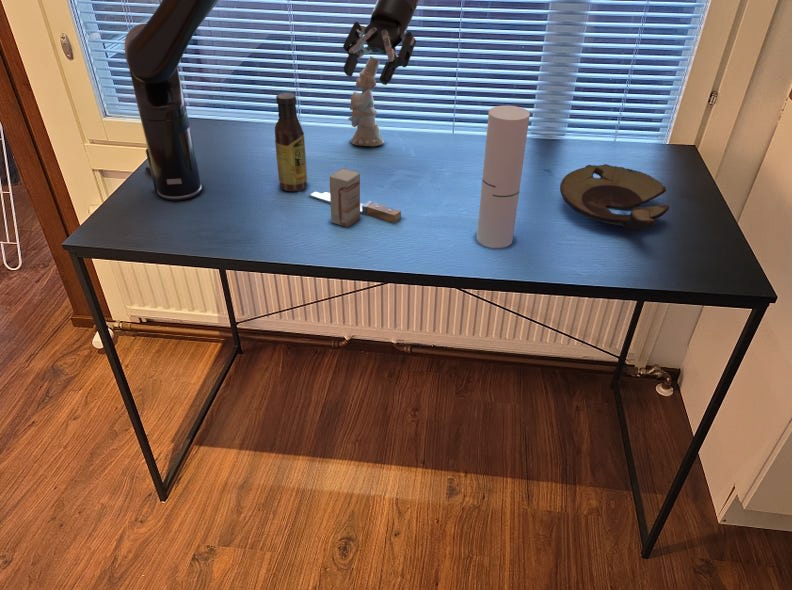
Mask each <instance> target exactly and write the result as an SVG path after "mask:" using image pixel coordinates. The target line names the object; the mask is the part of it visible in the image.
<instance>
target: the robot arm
mask: <svg viewBox="0 0 792 590" xmlns="http://www.w3.org/2000/svg"><path fill="white" fill-rule="evenodd" d="M218 2H219V0H161V2H160V4H159V5H158V7H157V8H156V10H155V11H154V13H153V14H152V15H151V16H150V18H149V19H148V21H147V22H146V23H140V24H137V25H134V26H133V27H132V28H130V30H128V32H127V33H126V36H125V38H124V44H123V46H124V56H125V57H124V58H125V60H126V64H127V67H128V70H129V75H130V79H131V83H132V87H133V92H134V96H135V101H136V107H137V109H138V114H139V118H140V121H141V123H140V124H141V126H142V130H143V134H144V138H145V139H144V140H145V143H146V147H147V148H145V154H146V158H147V162H148V163H147V164H148V166H146V168H145V171H146V172H147V173H148V174H150V175H151V179H152V184H153V187H154V191H155V192H156V193H157V195H158V196H159V198H161V199H163V200H166V201H172V202H173V201H176V202H177V201H186V200H189V199H192V198H194V197H197V196H198V195H200V194H201V192H202V190H203V186H202V183H201V179H200V173H199V167H198V162H197V159H196V152H195V146H194V142H193V141H194V140H193V136H192V131H191V126H190V121H189V116H188V110H187V106H186V99H185V95H184V90H183V85H182V81H181V76H180V71H179V64H180V63H181V60H182V58H183V56H184V54H185V52H186V51H187V48H188V46H189V45H190V43H191V41H192V38H193V37H194V35H195V34H196V32H197V30H198V29H199V27H200V26H201V24H203V22H204V20H205V19H207V17H208V15H209V14H210V13H211V12H212V10H213V9H214V8H215V6H216V4H218ZM419 2H420V0H376V3H375V5H374V6H373V10H372V12H371V15H370V22H368V24H367V25H365V26H364V25H361V24H360V23H359V22H358V21H355V22H354V23H353V25H352V27H351V28H350V31H349V33H348V35H347V37H346V39H345V41H344V43H343V45H342V48H343V50H344V51H345V52H346V53H347V55H348V56H347V58H346V60H345V63H344V64H343V72H344V73H345V75H346V76H347V77H349V78H352V77H353V75H354V72H355V70H356V67H357V65H358V63H359V60H360V59H362V57H363V56H367V55H369V54H370V53H376V54H377V53H380V54H382V55H387V59H388V61H386V62H385V64H384V67H383V69H382V72H381V73H380V76H379V81H380V83H381V85H384V86H387V85H388V84H389V83H390V82H391V81H392V78H393V76H394V74H395V71H396V70H397V69H398V68H399V67H402V68H406V67H408V65H409V62H410V60H411V56H412V54H413V51H414V48H415V46H416V42H417V40H416V38H415V36H414V35H413V33H412V31H407V30H408V28H409V26H410V24H411V21H412V20H413V17H414V14H415V12H416V10H417V7H418V6H419V5H418V4H419ZM401 43H402V44H401ZM365 44H366V45H367V46H365ZM400 44H401V47H400V50H399V53H397V49H396V48H397V47H398V46H399V45H400Z"/></svg>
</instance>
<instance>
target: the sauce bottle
mask: <svg viewBox="0 0 792 590" xmlns="http://www.w3.org/2000/svg"><path fill="white" fill-rule="evenodd" d="M275 99H276V100H275V101H276V103H277V110H278V114H277V116H278V119H277V121H276V123H275V126H274V138H275V140H274V145H275V153H276V165H277V175H278V180H279V186H280V189H282V190H284V191H286V192H292V193H293V192H299V191H302V190H304V189H306V187H307V185H308V184H307V183H308V182H307V181H308V173H307V172H308V171H307V157H306V142H305V132H304V130H303V128H302V125H301V123H300V121H299V118H298V114H297V96H296V95H295V94H294V93H290V92H283V93H278V94H276V96H275Z"/></svg>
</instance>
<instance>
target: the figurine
mask: <svg viewBox="0 0 792 590" xmlns="http://www.w3.org/2000/svg"><path fill="white" fill-rule="evenodd" d="M379 67H380V60H378V59H377V58H375V57H373V56H369V58H368V60H367V62H366V64H365V66H364V68H363V69H362V70H361V71H360V72H359V77H356V78H355V82H356V83H355V88H357V89H360V90H361V92H358V91H356V90H354V91H353V92H352V95H351V97H350V103H349V110H350V111H351V114H350V115H351V116H349V117H348V118H347V120H348V121H349V122H351V126H352V127H353V128H356V130H355V132H354V135H353V136H352V137H351V140H350V143H351V144H352V145H355V146H362V147H377V146H381V145H383V144H384V143H385V141H384V139H383V138H382V136H381V133H380V129H379V128H380V127H379V123H377V122H376V115H377V113H378V112H377V109H376V108H375V107H374V105H375V100H374V96H373V92H372V91H373V90H374V89H375V87H376V86H377V81H376V75H377V73H378V69H379Z"/></svg>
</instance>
